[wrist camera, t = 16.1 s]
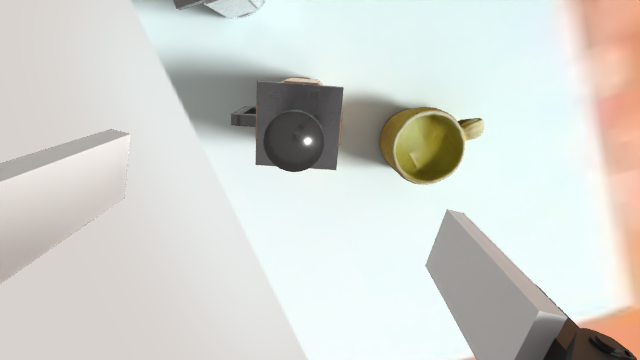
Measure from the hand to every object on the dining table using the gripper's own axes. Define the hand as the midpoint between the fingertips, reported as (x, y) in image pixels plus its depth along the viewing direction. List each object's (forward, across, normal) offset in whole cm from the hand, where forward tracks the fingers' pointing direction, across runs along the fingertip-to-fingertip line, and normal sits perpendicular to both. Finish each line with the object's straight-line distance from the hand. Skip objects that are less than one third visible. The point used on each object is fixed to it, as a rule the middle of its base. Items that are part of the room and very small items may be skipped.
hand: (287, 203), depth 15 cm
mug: (+37, +16, 0) cm, 40 cm away
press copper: (+37, -2, -1) cm, 37 cm away
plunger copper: (+34, 0, -1) cm, 34 cm away
